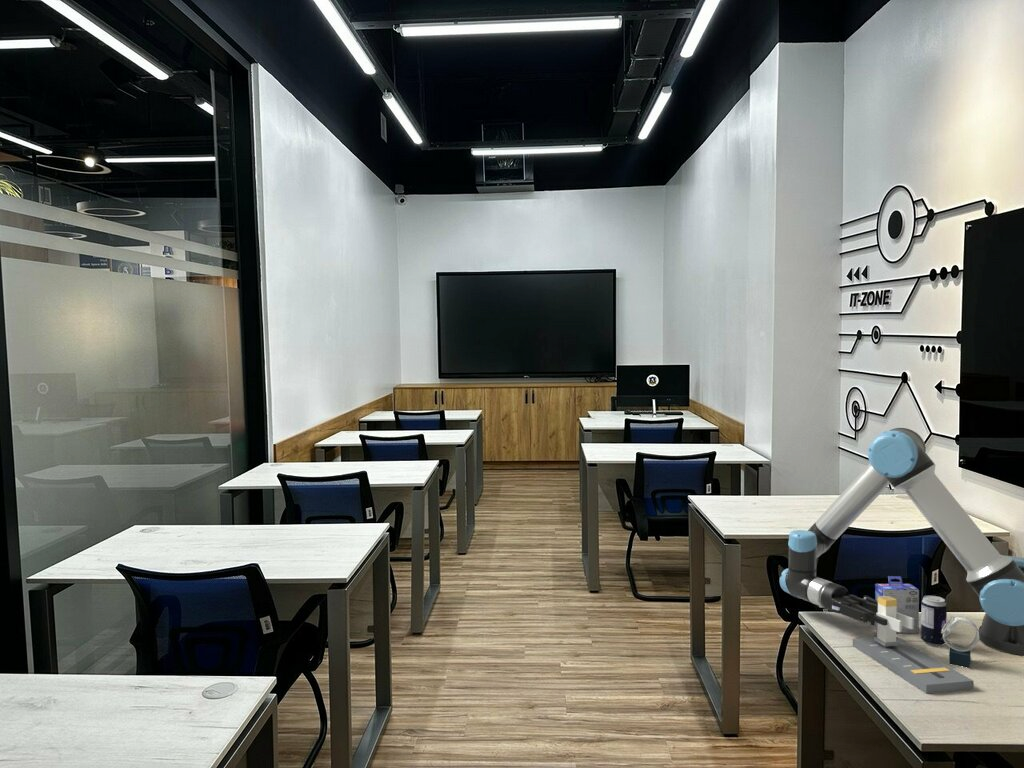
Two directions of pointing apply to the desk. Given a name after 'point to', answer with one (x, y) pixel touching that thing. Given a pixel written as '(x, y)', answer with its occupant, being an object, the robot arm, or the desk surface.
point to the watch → (957, 653)
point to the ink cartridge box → (902, 600)
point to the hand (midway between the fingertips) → (906, 625)
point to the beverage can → (933, 620)
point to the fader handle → (884, 634)
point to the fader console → (914, 666)
